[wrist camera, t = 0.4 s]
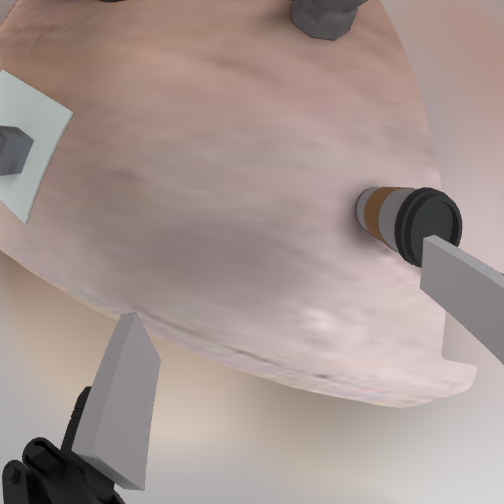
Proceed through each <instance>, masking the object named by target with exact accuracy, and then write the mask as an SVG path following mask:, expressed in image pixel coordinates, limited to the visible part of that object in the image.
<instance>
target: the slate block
mask: <svg viewBox="0 0 504 504" xmlns="http://www.w3.org/2000/svg"><path fill="white" fill-rule="evenodd" d="M33 143H34V140H33V139H32V138H31V137H29V136H28V135H27V134H26V133H24V132H23V131H22V130H21V129H19V128H18V127H12V126H0V176H3V175H11V174H20V173H21V172H22V170H23V167H24V164H25V162H26V159H27V157H28V154H29V152H30V150H31V147H32V145H33Z"/></svg>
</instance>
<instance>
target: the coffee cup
mask: <svg viewBox="0 0 504 504" xmlns="http://www.w3.org/2000/svg"><path fill="white" fill-rule="evenodd" d="M356 211H357V218H358V221H359V222H360V224H361V225H362V227H363V228H364V229H366V230H367V231H369V232H370V233H371V234H372V235H373V236H375V237H376V238H377V239H379V240H380V241H382V242H383V243H384V244H386V245H387V246H388V247H390V248H391V249H393V250H394V251H396V252H397V253H399V254H400V255H401V256H402V257H403V259H404V260H405V261H407V262H408V263H410V264H411V265H415V266H417V267H420V268H422V258H423V238H426V237H429V236H432V235H436V236H438V237H439V238H441V239H443V240H445V241H447V242H449V243H450V244H452V245H454V246H456V247H458V246H459V243H460V239H461V235H462V218H461V215H460V211H459V209H458V207H457V206H456V204H455V203H454V201H452V200H451V199H450V198H449V197H448V196H447V195H446V194H445V193H443V192H441V191H438V190H435V189H433V188H425V187H423V188H420V189H414V188H401V187H382V188H371V189H368V190H367V191H365V192H364V193H363V194H362V195H361V196H360V198H359V200H358V203H357V208H356Z"/></svg>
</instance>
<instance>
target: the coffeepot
mask: <svg viewBox="0 0 504 504" xmlns="http://www.w3.org/2000/svg"><path fill="white" fill-rule="evenodd" d="M366 1H368V0H294V1H293V3H292V4H291V15H292V22H293V23H294V24H295V25H296V26H298V27H299V28H300V29H301V30H302V31H303V32H305V33H306V34H308V35H309V36H311V37H315V38H319V39H327V40H329V39H330V40H336V39H337V38H339V37H341V36H342V35H343V34H345V33H346V32H348V31H349V30H350V28H351V25H352V23H353V20H354V18H355V15H356V13H357V10H358V6H360V5H362V4H363V3H365V2H366Z"/></svg>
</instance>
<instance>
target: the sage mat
mask: <svg viewBox="0 0 504 504" xmlns="http://www.w3.org/2000/svg"><path fill="white" fill-rule="evenodd" d="M73 114H74V112H72V111H71V110H69V109H68V108H66V107H64V106H63V105H61V104H60V103H58V102H56V101H55V100H53V99H51V98H50V97H48V96H47V95H45V94H43V93H42V92H40V91H38V90H37V89H35V88H33V87H32V86H30V85H28V84H27V83H25V82H23V81H22V80H20V79H18V78H17V77H15V76H13V75H12V74H10V73H8V72H7V71H5V70H3V69H2V70H1V72H0V126H12V127H18V128H19V129H21V130H22V131H23V132H24V133H26V134H27V135H28V136H29V137H31V138H32V139H33V140H34V143H33V145H32V147H31V150H30V152H29V154H28V157H27V159H26V162H25V164H24V167H23V170H22V172H21V173H20V174H11V175H3V176H0V200H1V201H2V202H3V203H4V204H5V205H6V206H7V207H8V208H9V209H10V210H11V211H12V212H13V213H14V214H15V215H16V216H17V217H18V218H19V219H20V220H21V221H22V222H23V223H24V224H27V222H28V219H29V215H30V212H31V209H32V206H33V203H34V200H35V198H36V195H37V192H38V189H39V187H40V184H41V181H42V179H43V176H44V174H45V172H46V169H47V167H48V165H49V162H50V160H51V158H52V156H53V153H54V151H55V149H56V147H57V145H58V143H59V141H60V139H61V137H62V135H63V133H64V131H65V129H66V127H67V125H68V123H69V121H70V120H71V118H72V116H73Z"/></svg>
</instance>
